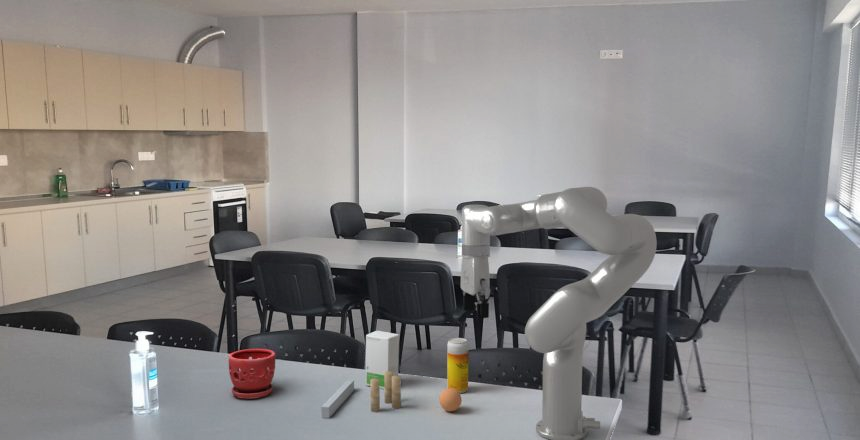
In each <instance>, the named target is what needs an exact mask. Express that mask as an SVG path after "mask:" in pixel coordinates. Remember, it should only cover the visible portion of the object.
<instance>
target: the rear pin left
mask: <svg viewBox="0 0 860 440" xmlns="http://www.w3.org/2000/svg"><path fill="white" fill-rule="evenodd" d="M370 385H371V386H370V412H372V413H378V412H380V411H381V410H380V409H381V408H380V407H381V405H380V404H381V402H380V399H381V398H380V397H381V395H380V392H381V391H380V389H381V388H379V379H377V378H374V379H371V380H370Z"/></svg>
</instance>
